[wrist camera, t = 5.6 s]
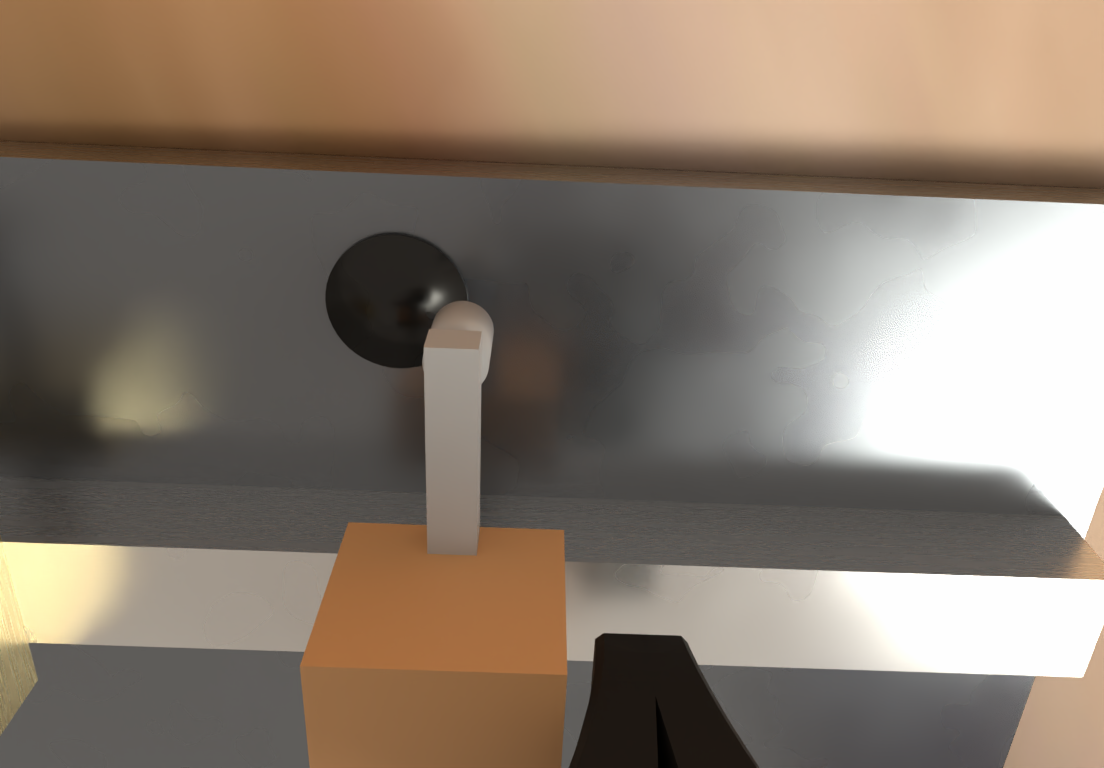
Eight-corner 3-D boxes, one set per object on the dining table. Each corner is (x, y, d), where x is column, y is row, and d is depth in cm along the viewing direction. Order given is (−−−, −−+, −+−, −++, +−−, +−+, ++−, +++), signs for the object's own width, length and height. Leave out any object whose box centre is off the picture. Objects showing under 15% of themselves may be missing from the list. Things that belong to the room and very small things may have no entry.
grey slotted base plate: (1163, 191, 15) (1491, 336, 10) (966, 776, 21) (1107, 1065, 15) (-250, 130, 14) (-701, 247, 9) (-48, 745, 20) (-256, 1031, 15)
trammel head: (574, 302, 14) (582, 442, 10) (553, 662, 17) (554, 874, 13) (351, 292, 13) (276, 431, 10) (370, 656, 16) (319, 868, 13)
